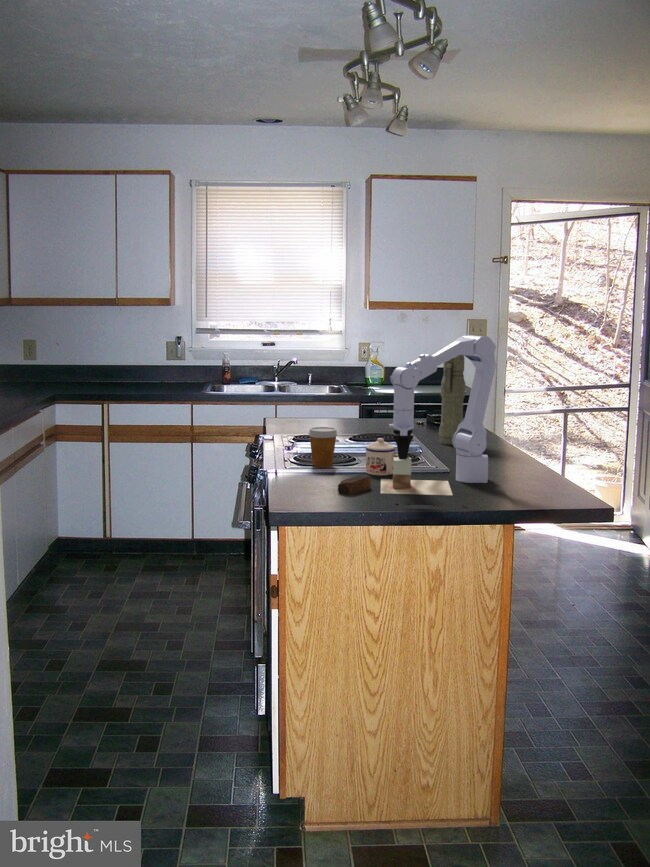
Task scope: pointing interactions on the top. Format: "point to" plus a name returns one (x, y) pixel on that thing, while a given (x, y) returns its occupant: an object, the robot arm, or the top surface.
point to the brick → (354, 485)
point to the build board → (418, 487)
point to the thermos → (452, 398)
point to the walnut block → (401, 481)
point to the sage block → (402, 466)
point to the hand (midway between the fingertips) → (402, 456)
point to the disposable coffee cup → (322, 445)
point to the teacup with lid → (380, 458)
